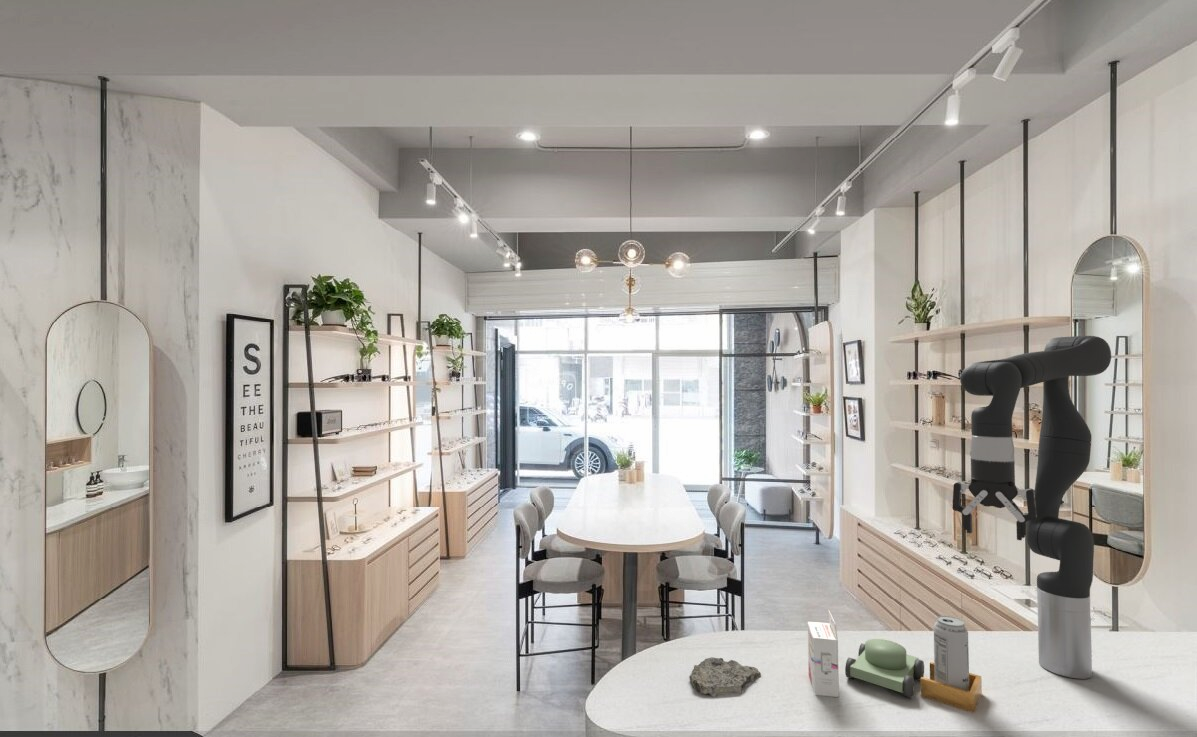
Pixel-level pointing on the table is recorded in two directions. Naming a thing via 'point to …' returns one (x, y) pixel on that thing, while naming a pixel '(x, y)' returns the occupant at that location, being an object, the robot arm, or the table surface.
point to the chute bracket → (952, 691)
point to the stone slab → (721, 676)
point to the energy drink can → (951, 652)
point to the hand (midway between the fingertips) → (993, 535)
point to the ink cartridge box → (823, 657)
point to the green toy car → (886, 666)
